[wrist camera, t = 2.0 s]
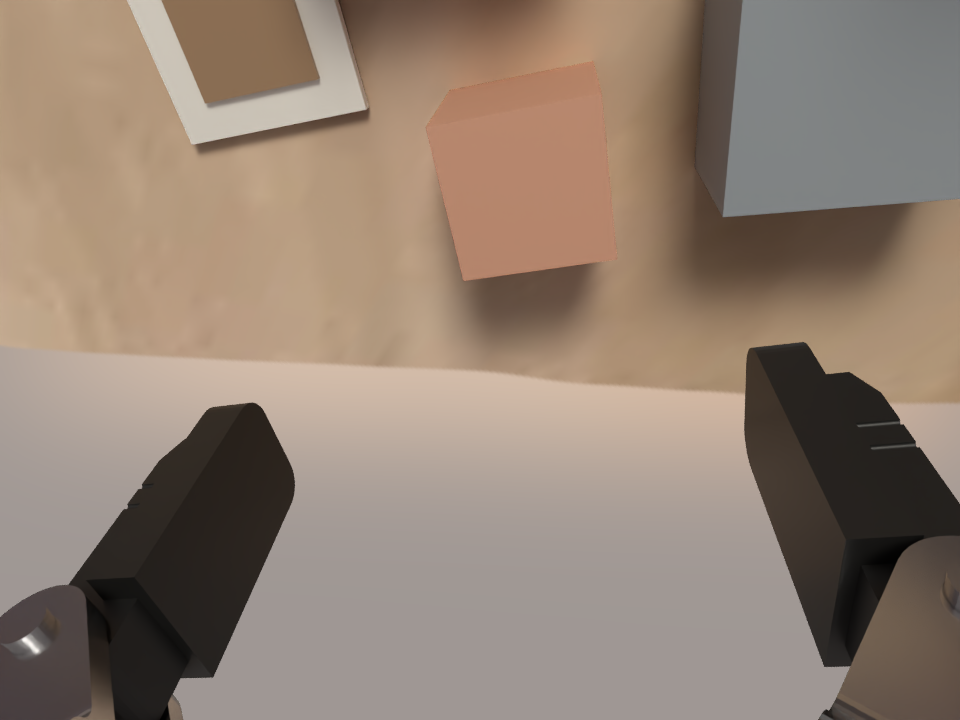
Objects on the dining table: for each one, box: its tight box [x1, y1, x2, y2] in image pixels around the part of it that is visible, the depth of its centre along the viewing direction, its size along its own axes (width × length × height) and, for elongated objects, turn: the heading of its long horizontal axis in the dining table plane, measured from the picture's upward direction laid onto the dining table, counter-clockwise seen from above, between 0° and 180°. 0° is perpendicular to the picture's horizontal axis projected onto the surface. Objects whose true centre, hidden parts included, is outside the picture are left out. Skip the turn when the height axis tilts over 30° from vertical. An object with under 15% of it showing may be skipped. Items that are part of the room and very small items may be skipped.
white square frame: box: [127, 0, 369, 145], centre depth 21 cm, size 7×7×1 cm
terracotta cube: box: [426, 61, 617, 281], centre depth 21 cm, size 5×5×5 cm
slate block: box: [695, 0, 960, 217], centre depth 18 cm, size 8×8×5 cm
